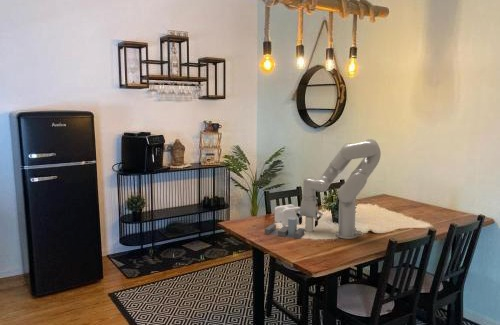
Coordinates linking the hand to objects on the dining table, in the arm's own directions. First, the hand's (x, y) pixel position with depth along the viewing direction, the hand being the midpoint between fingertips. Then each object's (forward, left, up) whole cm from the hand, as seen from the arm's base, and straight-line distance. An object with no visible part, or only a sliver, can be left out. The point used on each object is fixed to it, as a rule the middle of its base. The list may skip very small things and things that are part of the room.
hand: (308, 225), depth 239 cm
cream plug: (-1, 0, -5) cm, 5 cm away
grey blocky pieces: (+11, +11, -5) cm, 16 cm away
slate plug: (+6, +11, -4) cm, 13 cm away
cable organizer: (+17, -11, -5) cm, 21 cm away
